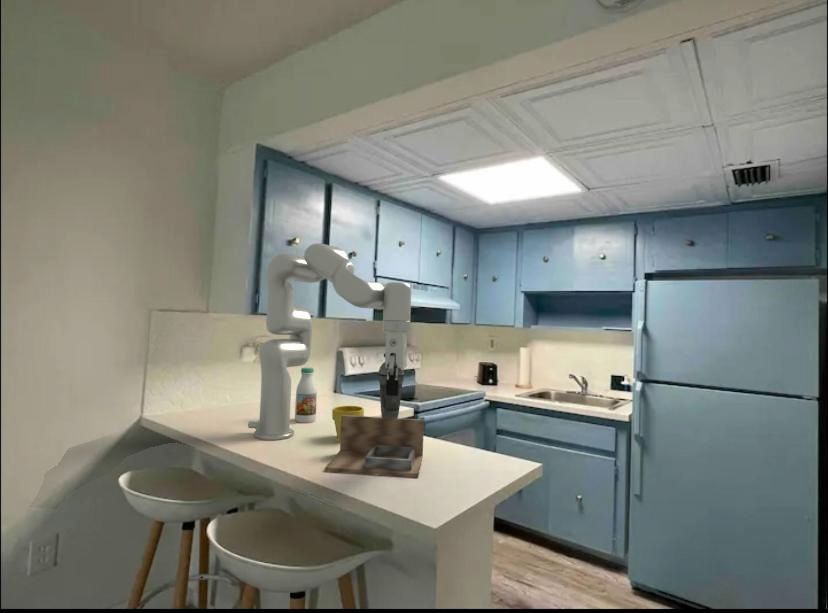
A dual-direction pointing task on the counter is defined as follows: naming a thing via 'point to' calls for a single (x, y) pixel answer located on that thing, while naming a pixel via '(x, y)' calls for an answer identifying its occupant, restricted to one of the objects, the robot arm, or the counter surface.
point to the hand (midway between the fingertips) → (394, 392)
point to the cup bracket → (379, 446)
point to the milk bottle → (306, 397)
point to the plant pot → (344, 410)
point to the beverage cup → (389, 402)
